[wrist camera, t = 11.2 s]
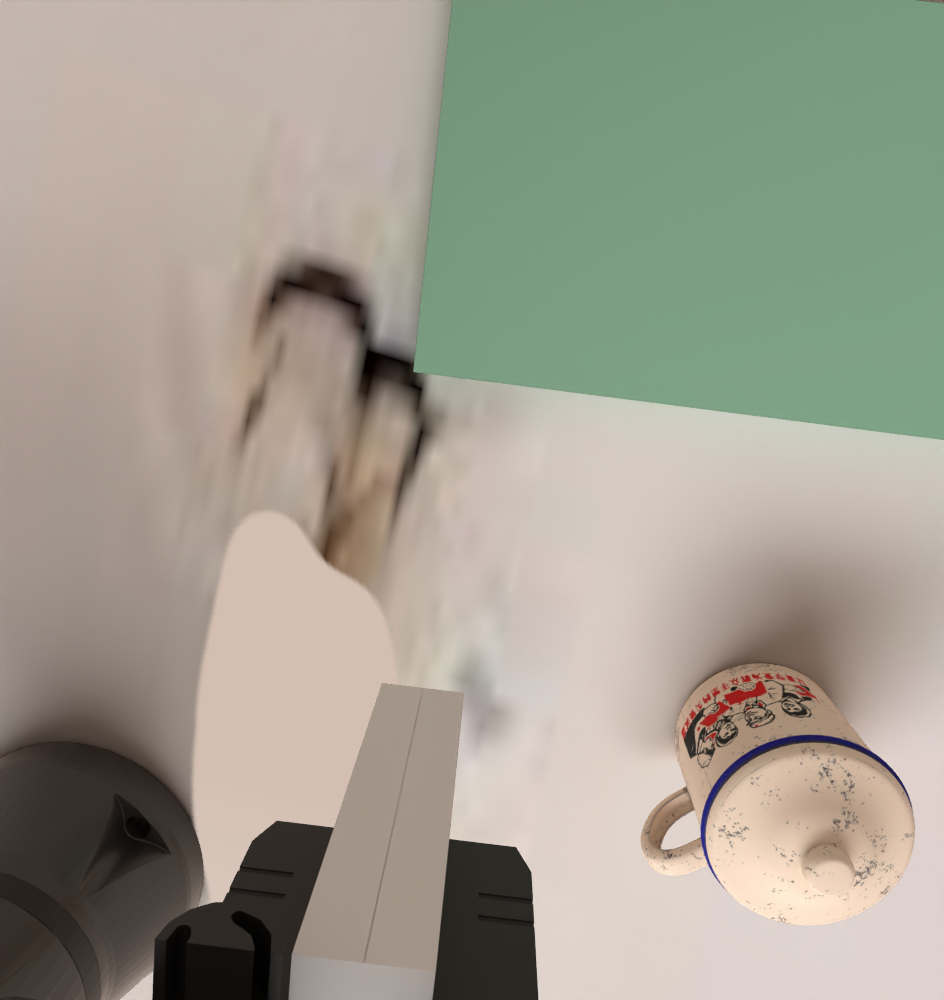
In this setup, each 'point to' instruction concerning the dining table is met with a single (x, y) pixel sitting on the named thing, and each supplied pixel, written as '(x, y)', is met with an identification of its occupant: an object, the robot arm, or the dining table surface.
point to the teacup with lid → (783, 800)
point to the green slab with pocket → (695, 206)
